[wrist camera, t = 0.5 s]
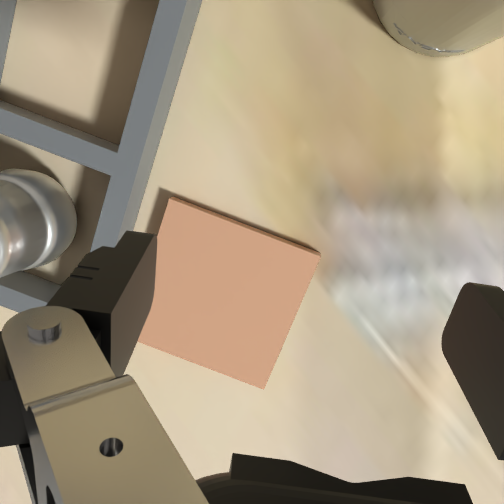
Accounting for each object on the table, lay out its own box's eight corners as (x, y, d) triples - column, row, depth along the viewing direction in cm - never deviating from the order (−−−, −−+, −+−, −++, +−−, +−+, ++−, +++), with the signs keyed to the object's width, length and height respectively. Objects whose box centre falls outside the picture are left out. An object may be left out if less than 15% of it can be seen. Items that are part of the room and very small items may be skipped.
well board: (10, -95, 28) (-23, -122, 25) (208, -19, 28) (197, -37, 25) (-55, 260, 34) (-87, 272, 32) (105, 321, 35) (88, 338, 32)
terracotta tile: (173, 196, 32) (169, 198, 31) (320, 253, 32) (320, 256, 31) (130, 331, 35) (125, 336, 34) (264, 382, 35) (263, 389, 34)
